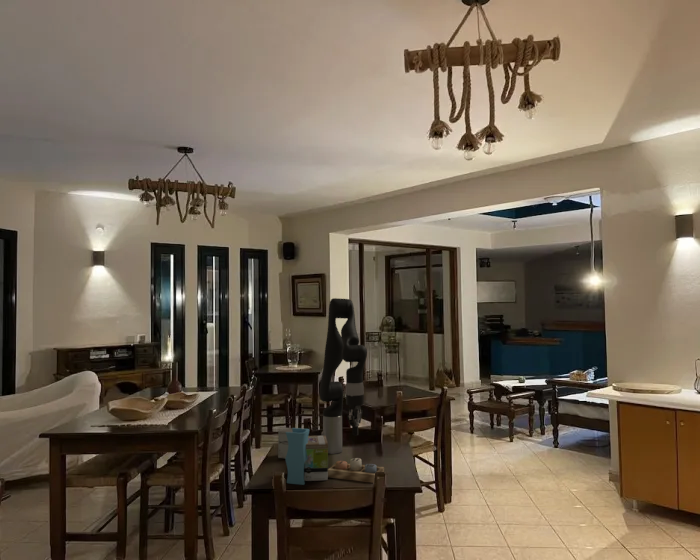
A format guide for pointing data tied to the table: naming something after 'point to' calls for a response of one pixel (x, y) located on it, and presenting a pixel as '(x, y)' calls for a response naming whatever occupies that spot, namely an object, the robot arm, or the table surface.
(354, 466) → the white rounded block
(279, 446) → the supplement box
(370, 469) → the slate button
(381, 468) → the button board
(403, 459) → the table surface
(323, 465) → the tea box
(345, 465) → the pink rounded block
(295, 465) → the vase
